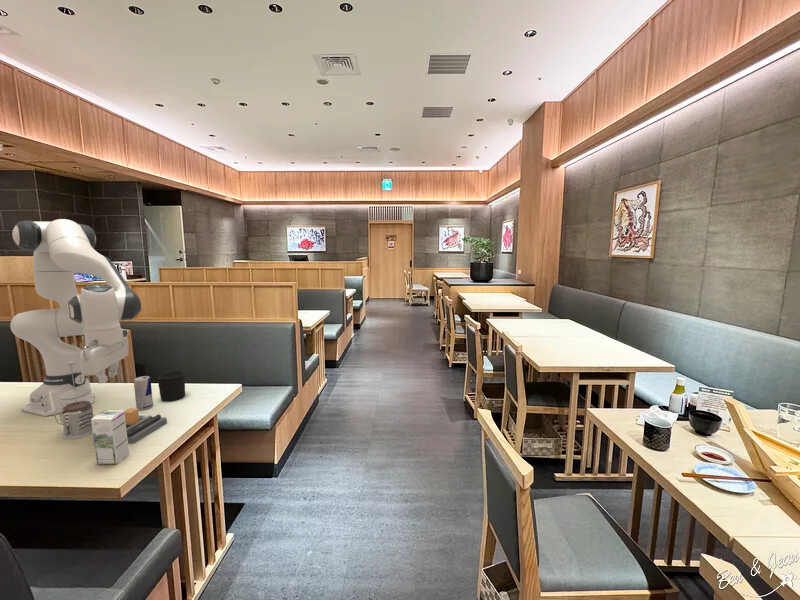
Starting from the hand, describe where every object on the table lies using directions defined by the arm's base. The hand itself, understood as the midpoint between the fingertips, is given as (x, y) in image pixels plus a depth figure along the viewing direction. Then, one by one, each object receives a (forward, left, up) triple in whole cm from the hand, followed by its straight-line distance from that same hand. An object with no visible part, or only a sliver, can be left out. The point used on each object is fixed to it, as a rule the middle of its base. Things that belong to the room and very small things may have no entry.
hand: (108, 379), depth 114 cm
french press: (-17, +2, -21) cm, 27 cm away
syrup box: (+8, -9, -21) cm, 25 cm away
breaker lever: (0, +6, -19) cm, 20 cm away
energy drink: (-11, +23, -21) cm, 34 cm away
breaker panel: (0, +6, -21) cm, 22 cm away
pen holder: (-7, +33, -21) cm, 40 cm away
